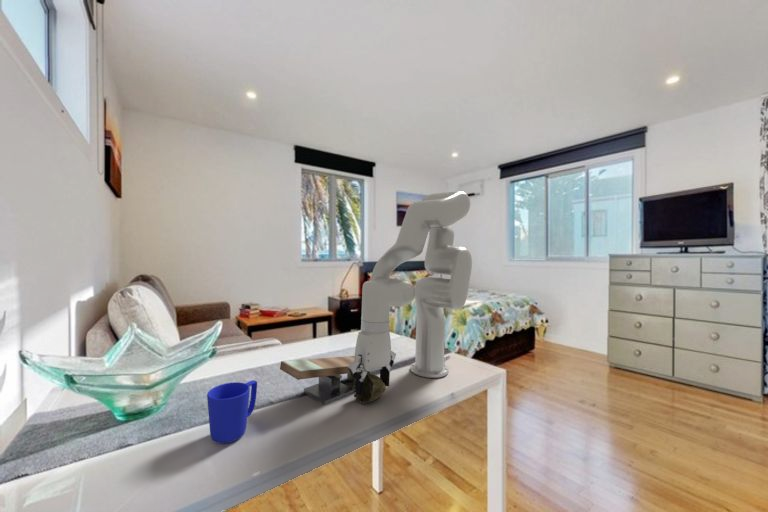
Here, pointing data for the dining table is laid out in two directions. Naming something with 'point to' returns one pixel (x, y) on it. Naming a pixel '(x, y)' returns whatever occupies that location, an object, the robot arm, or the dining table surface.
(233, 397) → the mug
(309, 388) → the pivot stand
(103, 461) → the dining table surface
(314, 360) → the beam
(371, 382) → the olive green rounded piece
